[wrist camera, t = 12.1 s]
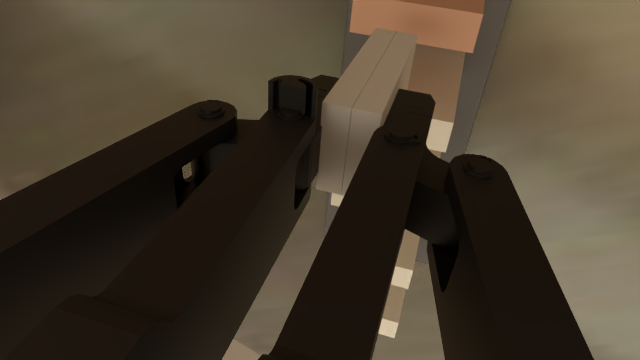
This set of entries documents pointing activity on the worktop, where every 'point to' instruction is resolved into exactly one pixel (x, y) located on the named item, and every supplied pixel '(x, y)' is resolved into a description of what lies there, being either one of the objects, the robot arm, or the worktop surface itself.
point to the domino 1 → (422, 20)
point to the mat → (469, 91)
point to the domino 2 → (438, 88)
